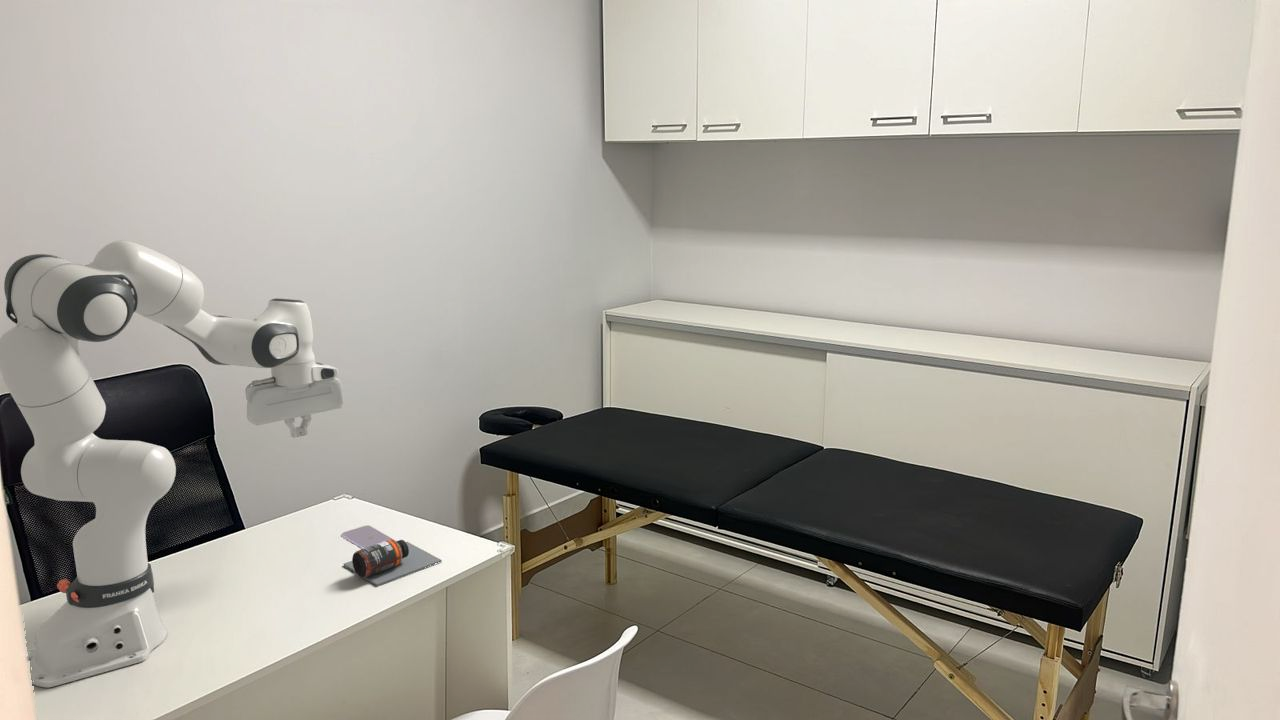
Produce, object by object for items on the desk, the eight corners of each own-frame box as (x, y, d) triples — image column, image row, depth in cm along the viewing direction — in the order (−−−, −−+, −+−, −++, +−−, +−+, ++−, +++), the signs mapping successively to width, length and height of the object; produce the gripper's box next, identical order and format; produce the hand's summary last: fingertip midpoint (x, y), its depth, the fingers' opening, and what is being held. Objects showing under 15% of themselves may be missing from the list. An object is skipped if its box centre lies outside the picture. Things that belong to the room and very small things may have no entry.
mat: (377, 586, 185) (377, 584, 184) (343, 565, 194) (343, 563, 194) (441, 562, 196) (441, 560, 196) (407, 543, 205) (407, 541, 205)
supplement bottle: (355, 579, 188) (400, 562, 197) (369, 578, 184) (414, 560, 193) (348, 552, 189) (393, 536, 197) (361, 550, 185) (407, 534, 193)
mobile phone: (368, 523, 215) (401, 542, 205) (368, 527, 215) (401, 546, 205) (339, 532, 210) (371, 551, 199) (339, 536, 210) (371, 556, 200)
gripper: (251, 384, 177) (257, 450, 180) (345, 368, 192) (349, 429, 195) (238, 379, 182) (244, 443, 185) (330, 363, 196) (335, 423, 199)
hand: (299, 436), depth 190 cm, fingers closed
